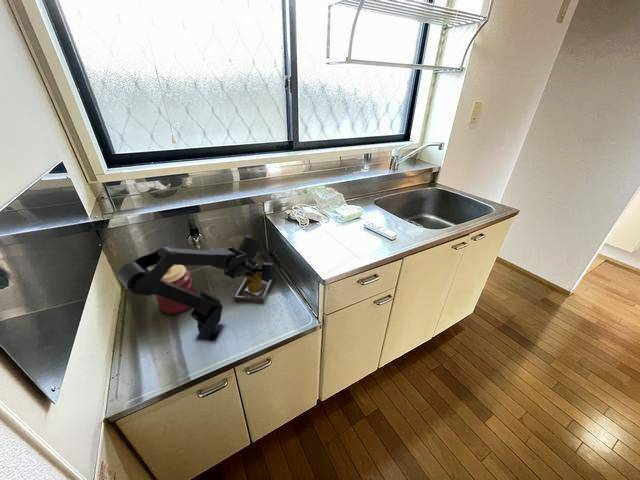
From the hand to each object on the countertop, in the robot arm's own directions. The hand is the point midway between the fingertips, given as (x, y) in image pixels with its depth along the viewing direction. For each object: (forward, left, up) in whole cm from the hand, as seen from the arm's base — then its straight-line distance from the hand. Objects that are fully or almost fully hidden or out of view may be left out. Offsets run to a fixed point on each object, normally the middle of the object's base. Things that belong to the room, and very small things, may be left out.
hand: (256, 272), depth 107 cm
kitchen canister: (-14, +27, -7) cm, 31 cm away
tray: (-3, 0, -7) cm, 7 cm away
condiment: (-2, 0, -7) cm, 7 cm away
